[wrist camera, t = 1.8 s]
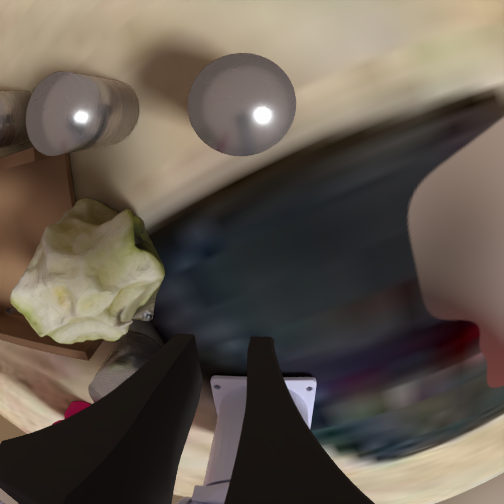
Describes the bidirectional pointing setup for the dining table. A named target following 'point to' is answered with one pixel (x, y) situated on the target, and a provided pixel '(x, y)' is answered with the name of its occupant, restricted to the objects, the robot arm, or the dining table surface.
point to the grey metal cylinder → (241, 104)
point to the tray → (31, 236)
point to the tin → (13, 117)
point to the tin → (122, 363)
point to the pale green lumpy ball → (90, 276)
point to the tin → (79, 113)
